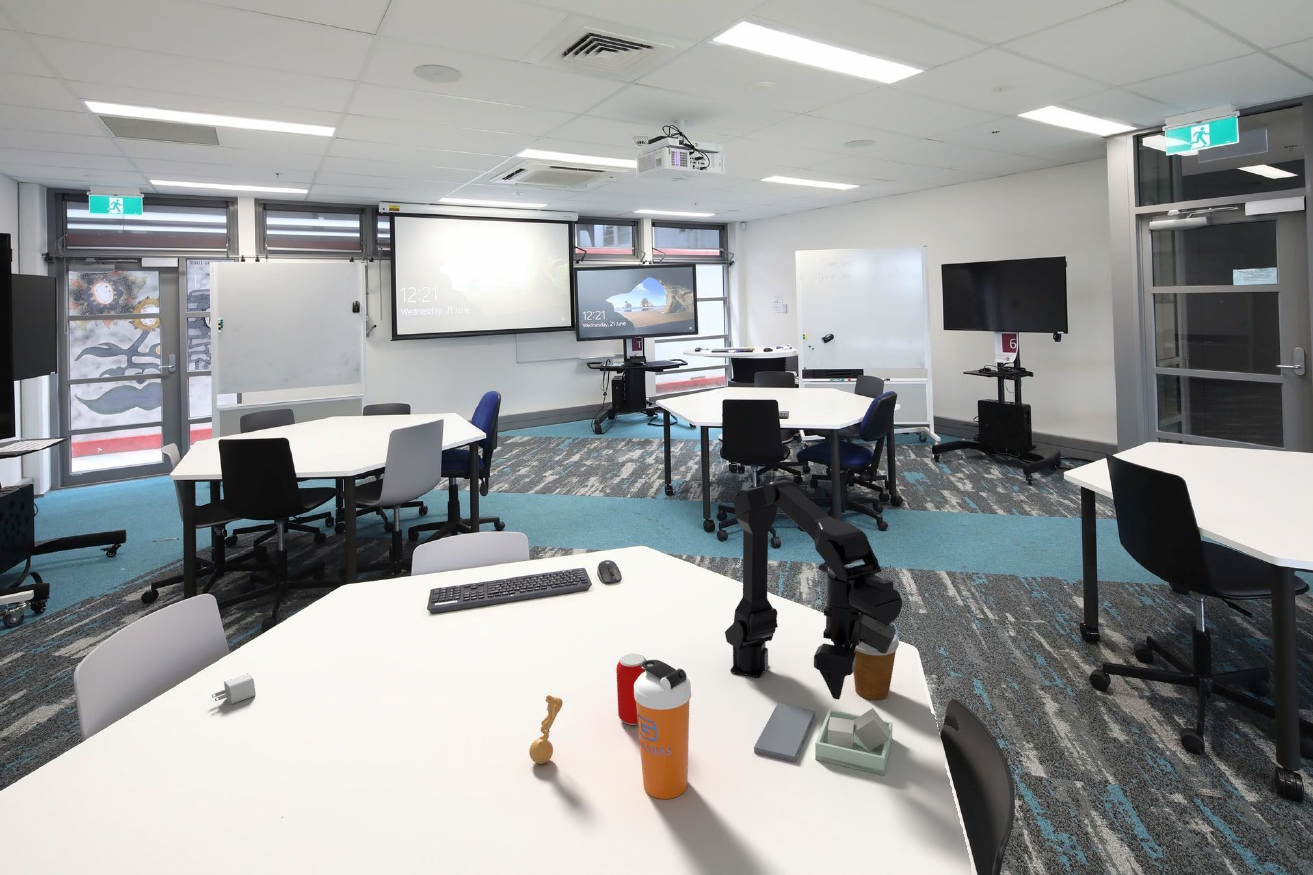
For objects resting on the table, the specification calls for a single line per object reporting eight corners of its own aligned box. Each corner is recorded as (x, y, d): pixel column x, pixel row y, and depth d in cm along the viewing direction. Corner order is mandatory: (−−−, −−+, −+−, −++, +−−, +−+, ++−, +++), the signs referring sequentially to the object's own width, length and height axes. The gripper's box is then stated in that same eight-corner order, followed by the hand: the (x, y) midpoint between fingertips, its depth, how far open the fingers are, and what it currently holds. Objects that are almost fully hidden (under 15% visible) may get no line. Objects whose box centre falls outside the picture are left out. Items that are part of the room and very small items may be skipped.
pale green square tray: (815, 759, 118) (815, 742, 117) (828, 724, 127) (828, 709, 127) (883, 775, 113) (884, 758, 113) (892, 738, 123) (892, 722, 122)
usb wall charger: (256, 696, 144) (253, 678, 143) (217, 710, 139) (215, 692, 138) (249, 690, 147) (247, 672, 146) (211, 703, 142) (209, 685, 141)
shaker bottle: (658, 760, 119) (654, 649, 115) (703, 778, 114) (701, 663, 110) (626, 790, 111) (621, 673, 108) (673, 811, 106) (670, 688, 103)
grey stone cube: (854, 731, 118) (873, 719, 117) (853, 719, 122) (872, 707, 121) (869, 751, 118) (889, 738, 117) (869, 738, 122) (888, 726, 120)
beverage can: (655, 712, 133) (653, 653, 131) (644, 730, 127) (642, 669, 125) (625, 707, 135) (623, 649, 133) (613, 725, 129) (610, 664, 127)
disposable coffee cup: (900, 706, 133) (902, 647, 131) (848, 702, 134) (849, 644, 132) (894, 681, 142) (895, 625, 140) (845, 677, 144) (846, 622, 142)
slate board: (754, 752, 120) (753, 746, 120) (777, 707, 133) (777, 702, 133) (794, 761, 117) (794, 756, 117) (814, 715, 130) (814, 710, 130)
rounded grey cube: (827, 751, 118) (827, 729, 118) (829, 737, 122) (830, 716, 121) (852, 755, 117) (852, 733, 116) (853, 741, 121) (854, 720, 120)
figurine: (532, 747, 123) (528, 684, 121) (566, 745, 124) (563, 681, 122) (527, 778, 115) (523, 710, 113) (564, 774, 116) (561, 707, 114)
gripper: (885, 632, 109) (882, 724, 111) (899, 588, 125) (895, 669, 128) (813, 620, 113) (812, 709, 116) (835, 579, 130) (833, 658, 133)
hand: (841, 685), depth 123 cm, fingers open, 9 cm apart
